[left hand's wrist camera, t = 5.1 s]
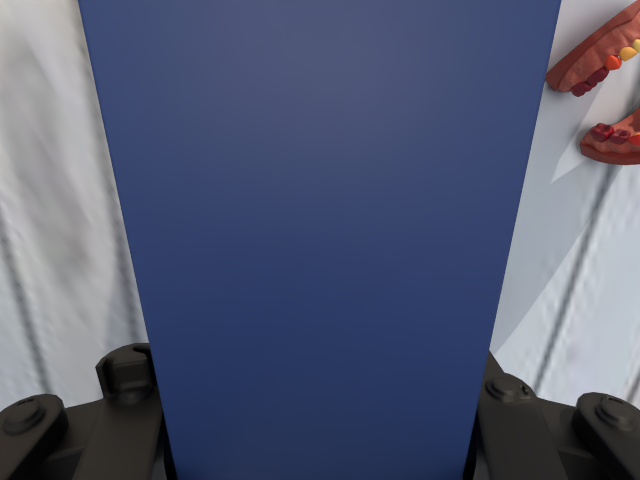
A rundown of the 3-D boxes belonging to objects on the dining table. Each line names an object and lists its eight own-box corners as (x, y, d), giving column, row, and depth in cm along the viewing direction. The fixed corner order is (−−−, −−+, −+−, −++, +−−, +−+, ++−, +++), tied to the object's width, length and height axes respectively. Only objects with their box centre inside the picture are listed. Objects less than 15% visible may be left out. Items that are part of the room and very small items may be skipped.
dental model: (706, -43, 15) (757, 117, 17) (630, -17, 19) (680, 111, 21) (575, 51, 17) (638, 187, 19) (529, 57, 20) (586, 169, 23)
